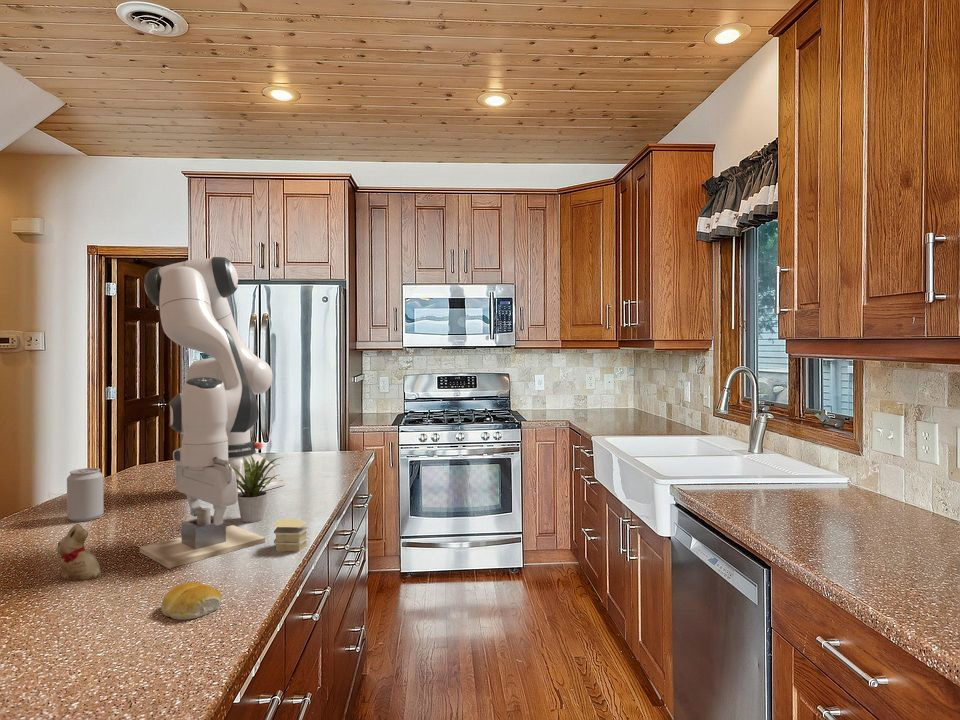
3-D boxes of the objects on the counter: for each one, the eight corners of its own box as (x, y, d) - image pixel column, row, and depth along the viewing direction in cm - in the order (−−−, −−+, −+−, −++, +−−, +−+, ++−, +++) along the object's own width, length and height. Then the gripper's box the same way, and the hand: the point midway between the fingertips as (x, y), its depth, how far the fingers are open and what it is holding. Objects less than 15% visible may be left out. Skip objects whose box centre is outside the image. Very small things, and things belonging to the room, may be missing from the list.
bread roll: (197, 594, 102) (197, 571, 101) (229, 607, 97) (229, 582, 97) (149, 612, 95) (149, 587, 94) (181, 626, 90) (181, 600, 90)
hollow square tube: (211, 535, 129) (211, 515, 129) (225, 541, 125) (225, 521, 125) (181, 542, 124) (181, 522, 124) (195, 549, 120) (195, 528, 120)
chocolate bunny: (89, 566, 114) (89, 514, 114) (104, 576, 109) (104, 522, 109) (55, 574, 110) (54, 521, 109) (69, 585, 105) (68, 529, 104)
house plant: (300, 515, 148) (300, 450, 148) (258, 531, 136) (258, 460, 135) (257, 508, 154) (257, 446, 154) (213, 523, 142) (213, 455, 141)
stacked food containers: (321, 543, 128) (321, 518, 128) (302, 558, 120) (301, 531, 119) (278, 540, 130) (278, 515, 130) (256, 554, 121) (256, 528, 121)
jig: (232, 529, 137) (232, 495, 137) (265, 542, 128) (264, 505, 128) (139, 552, 122) (139, 513, 121) (168, 568, 113) (168, 527, 112)
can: (85, 523, 141) (84, 473, 141) (59, 521, 142) (58, 472, 142) (111, 514, 148) (110, 467, 148) (85, 513, 150) (85, 466, 150)
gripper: (245, 459, 120) (246, 526, 121) (198, 447, 133) (198, 507, 134) (214, 464, 116) (215, 533, 116) (169, 451, 129) (170, 514, 129)
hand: (206, 519), depth 125 cm, fingers open, 8 cm apart
